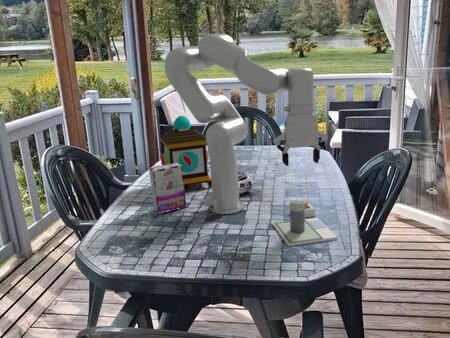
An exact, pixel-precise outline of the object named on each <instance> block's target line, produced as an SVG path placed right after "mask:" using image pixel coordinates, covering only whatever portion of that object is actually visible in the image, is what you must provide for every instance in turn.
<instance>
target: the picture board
mask: <svg viewBox="0 0 450 338" xmlns="http://www.w3.org/2000/svg"><path fill="white" fill-rule="evenodd" d="M272 224H273V227H274V228H275V230H276V231H277V233H278V234H279V235H280V236H281V238H282V239H283V240H284V242H285V243H286V244H287V246H288V247H291V246H292V247H293V246H300V245H307V244H315V243H321V242H330V241H335V240H338V238H339V237H338V236H337V235H336V234H335V233H334V232H333V231H332V230H331V229H330V228H329V227H328V226H327V225H326V224H324V222H322V221H321V219H320V218H318V217H310V218H305V231H304V232H303V233H292V232H291V231H290V220H289V221H287V220H286V221H280V222H274V223H272Z"/></svg>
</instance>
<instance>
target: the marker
mask: <svg viewBox="0 0 450 338" xmlns="http://www.w3.org/2000/svg"><path fill="white" fill-rule="evenodd" d="M303 201H304V200H298V199H297V200H291V201H289V221H290V231H291V232H292V233H303V232H304V231H305V219H306V217H305V203H304V202H303Z"/></svg>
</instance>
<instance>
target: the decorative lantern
mask: <svg viewBox="0 0 450 338" xmlns="http://www.w3.org/2000/svg"><path fill="white" fill-rule="evenodd" d="M159 140H160V141H161V143H162V150H163V153H162V154H161V156H160V162H161V166H163V165H168V164H174V163H178V164H181V165H182V169H183V179H184V187H186V186H192V185H198V184H204V183H205V184H207V188H208V187H211V188H212V180H211V176H210V175H209V172H208V161H209V151H208V149H207V143H206V135H204V134H202V132H200V131H198V130H197V129H194V128H193V127H192V126H191V122H190V119H188V118H187V117H186V116H184V115H178V116H177V117H176V118H175V120H174V121H173V126H172V128H170V129H169V130H168V132H163V134H161V135H160V136H159Z"/></svg>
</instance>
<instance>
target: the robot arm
mask: <svg viewBox="0 0 450 338" xmlns="http://www.w3.org/2000/svg"><path fill="white" fill-rule="evenodd" d="M214 65H217V66H218V67H220V68H221V69H224V70H226V71H227V72H230V73H232V74H233V75H234V76H235V78H236V79H238V80H239V82H241V83H242V84H243V86H246V87H248V88H249V89H252V90H254V91H256V92H258V93H259V94H263V95H265V96H266V95H267V96H272V95H276V94H279V93H282V92H287V100H288V101H287V106H284V107H283V111H284V112H287V113H286V116H285V121H284V127H283V128H284V130H283V131H284V132H283V133H282V134H280V135H279V136H277V137H275V138H274V139H273V143H274V144H275V147H276V148H277V149H278V150H279V151H281V156H282V157H281V158H282V159H281V160H282V163H283V164H284V165H285V166H286V167H288V166H289V162H290V160H289V153H288V152H289V150H290V149H293V148H306V147H307V148H308V147H313V149H312V161H313V162H314V163H315V164H319V161H320V159H321V157H320V156H321V150H322V148H324V146H325V145H326V142H328V138H329V135H327V134H325V133H324V132H321V131H319V124H318V123H319V122H318V117H317V114H316V113H315V112H314V71H313V70H312V68H309V67H296V68H294V67H293V68H290V67H289V68H288V67H282V66H279V67H275V68H274V67H273V68H267V67H264V66H262V65H260V64H257V63H256V62H254V61H253V60H251V59H250V58H249V52H248V50H247V49H246V48H244V47H242V46H240V45H238V44H235V41H234V39H233V38H232V37H231V36H230V35H228V34H226V33H208V34H205V35H203V36H202V37H201V38H200V40H199V41H198V43H197V45H191V46H190V45H189V46H188V45H187V46H179V47H176V48H173V49H171V50H170V51H169V52H168V53H167V55H166V57H165V59H164V71H165V75H166V78H167V80H168V82H169V83H170V85H171V86H172V88H173V89H174V90H175V91H176V93H177V94H178V95H179V96H180V98H181V100H182V101H183V102H184V105H186V107H187V108H188V110H189V112H190V113H191V114H192V116H193V117H194V118H195V120H196V121H197V122H199V124H209V123H212V122H214V123H213V124H211V125H210V126H209V127H208V129H207V130H206V131H205V133H206V134H205V137H206V143H207V144H206V148H207V152H208V157H209V165H210V167H209V168H210V179H211V182H212V186H211V191H212V194H211V195H210V197H209V198H207V199H206V198H205V199H204V198H203V199H199V205H200V206H203V205H204V207H208V210H209V211H210V212H211V213H213V214H217V215H230V214H231V215H232V214H235V213H239V212H240V211H242V210H243V209H244V208H245V204H244V203H243V201H241V200H240V190H239V189H240V188H239V187H240V186H239V185H240V184H239V170H238V167H239V166H238V158H237V154H236V152H235V148H234V146H235V145H237V144H239V143H241V142H243V141H244V140H245V139H246V138H247V136H248V127H247V124H246V123H245V120H244V119H243V118H242V115H240V113H239V112H238V110H237V109H236V108H235V106H234V105H233V103H232V102H231V100H230V99H229V98H228V97H227V96H226V95H224V94H222V93H219V92H215V93H209V92H208V91H207V90H206V88H205V87H204V86H203V84H202V83H201V81H199V80H198V78H196V76H194V75H193V74H191V72H194V71H195V72H197V71H202V70H205V69H208V68H210V67H212V66H214ZM319 137H320V138H321V140H320V139H319ZM281 141H283V143H284V144H283V145H281Z"/></svg>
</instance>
